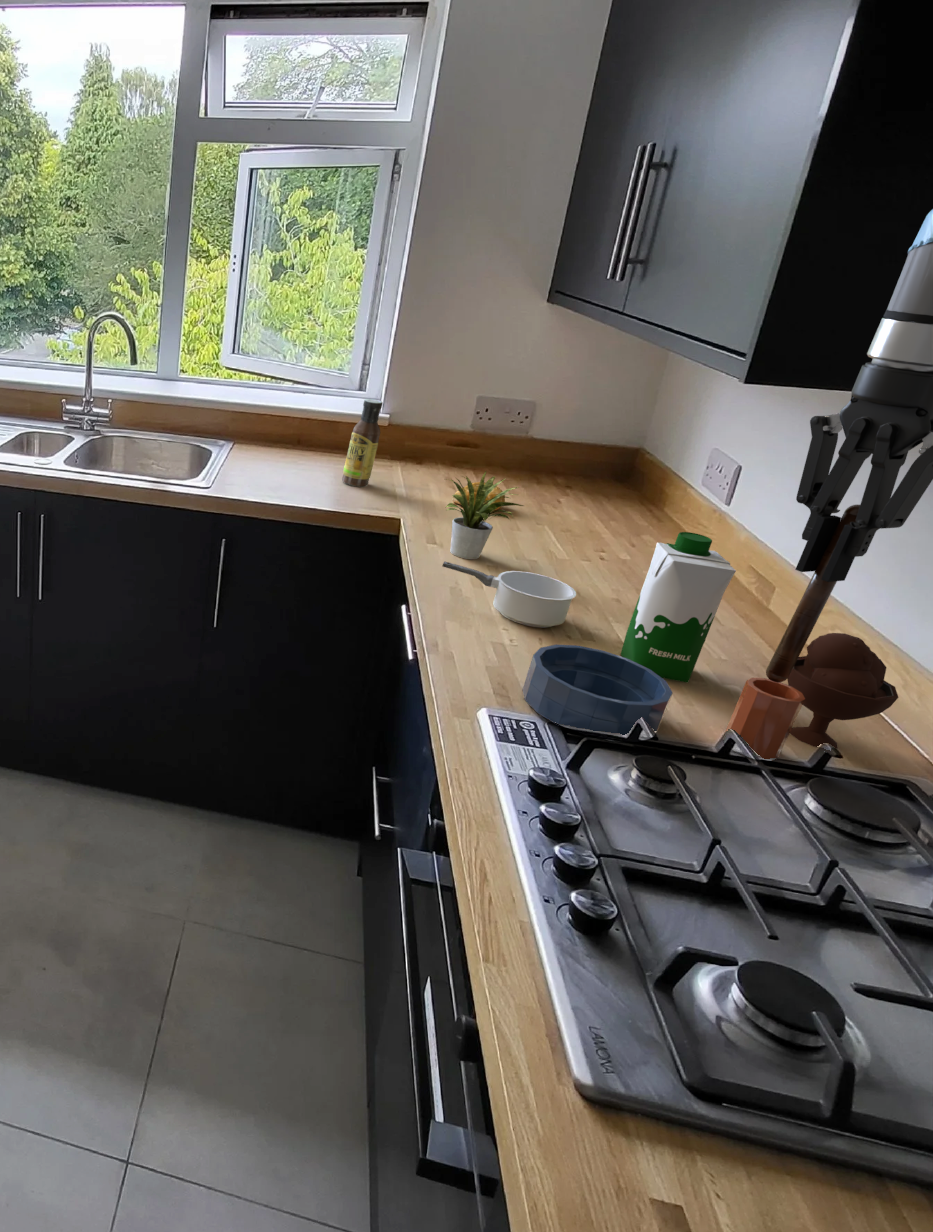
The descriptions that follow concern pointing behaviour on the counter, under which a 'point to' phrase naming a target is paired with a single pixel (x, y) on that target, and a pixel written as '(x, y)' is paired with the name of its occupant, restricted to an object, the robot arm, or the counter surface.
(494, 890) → the counter surface
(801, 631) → the cooking stick
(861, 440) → the robot arm
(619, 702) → the mixing bowl
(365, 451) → the sauce bottle
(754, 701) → the utensil pot
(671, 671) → the milk carton
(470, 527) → the house plant
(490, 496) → the bagel
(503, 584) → the saucepan
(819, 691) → the ice cream bowl
